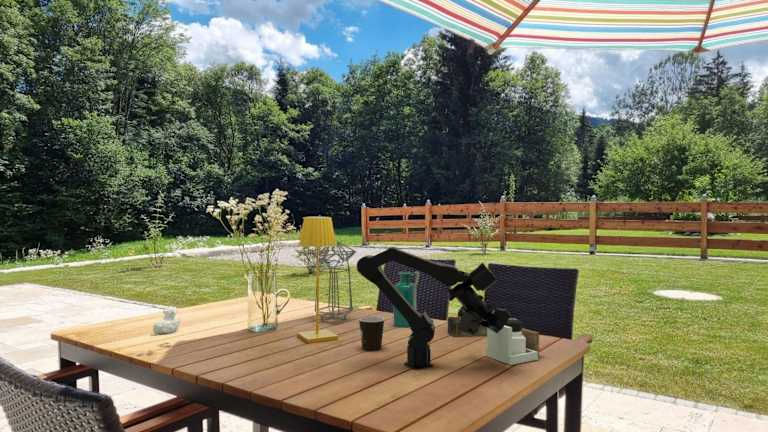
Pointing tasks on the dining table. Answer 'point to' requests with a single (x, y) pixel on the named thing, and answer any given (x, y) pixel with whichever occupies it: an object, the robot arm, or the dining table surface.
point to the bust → (167, 322)
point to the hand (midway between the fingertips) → (497, 331)
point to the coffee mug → (371, 333)
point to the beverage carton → (454, 332)
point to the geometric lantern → (334, 279)
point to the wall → (531, 339)
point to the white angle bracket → (506, 348)
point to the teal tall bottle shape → (408, 292)
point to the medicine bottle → (517, 337)
